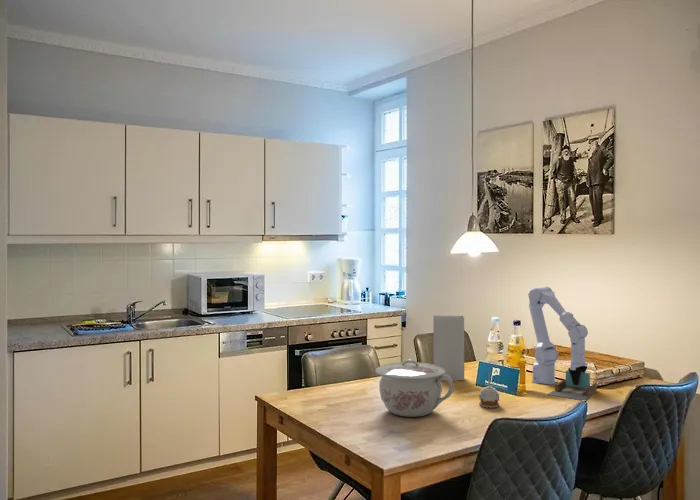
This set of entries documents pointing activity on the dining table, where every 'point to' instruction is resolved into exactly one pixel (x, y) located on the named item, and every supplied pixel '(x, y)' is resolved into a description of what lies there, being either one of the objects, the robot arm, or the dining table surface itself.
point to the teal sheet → (583, 381)
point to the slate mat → (568, 395)
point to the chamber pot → (412, 387)
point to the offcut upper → (573, 391)
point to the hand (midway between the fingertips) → (577, 383)
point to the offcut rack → (589, 390)
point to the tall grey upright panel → (449, 345)
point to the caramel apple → (489, 396)
